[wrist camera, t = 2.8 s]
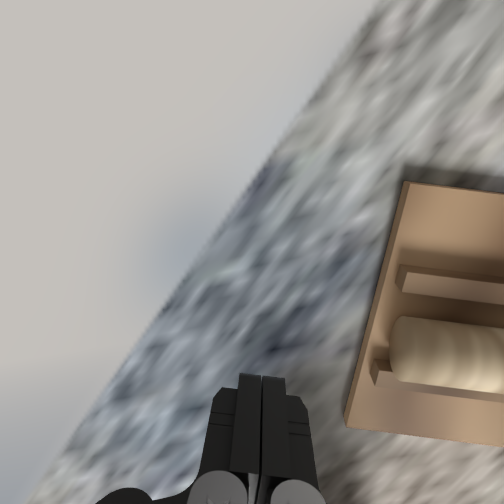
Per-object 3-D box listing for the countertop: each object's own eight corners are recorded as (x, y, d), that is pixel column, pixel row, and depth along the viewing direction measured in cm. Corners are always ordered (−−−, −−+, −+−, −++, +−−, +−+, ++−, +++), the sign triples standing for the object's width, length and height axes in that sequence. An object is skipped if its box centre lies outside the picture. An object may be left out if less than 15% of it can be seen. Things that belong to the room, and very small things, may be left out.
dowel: (569, 323, 17) (615, 378, 15) (534, 362, 19) (570, 416, 17) (404, 303, 17) (422, 353, 15) (384, 343, 19) (398, 394, 17)
